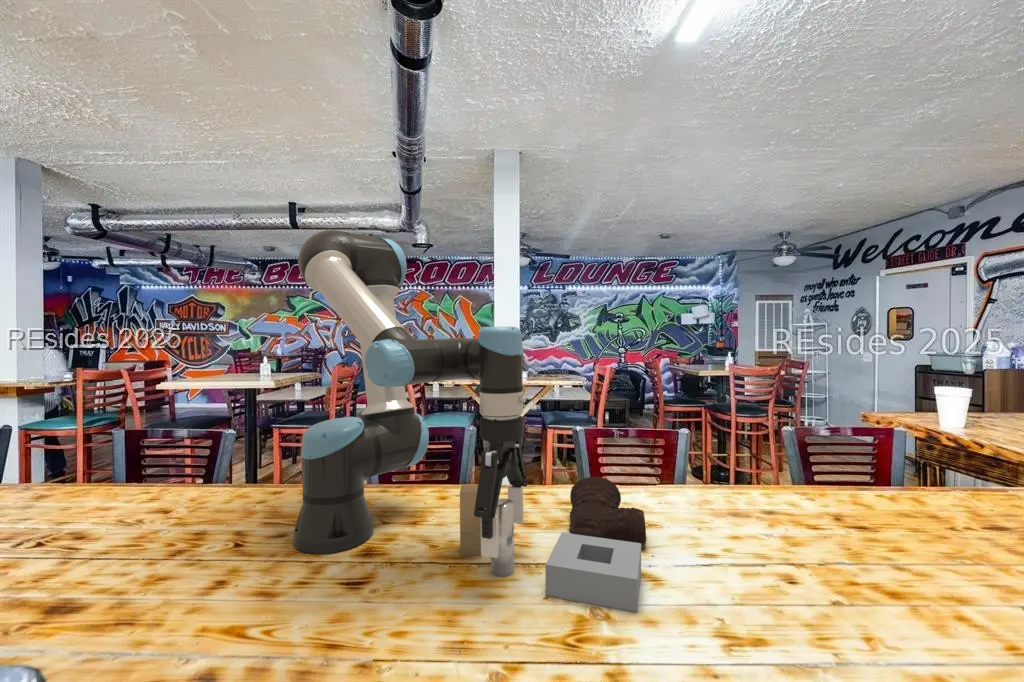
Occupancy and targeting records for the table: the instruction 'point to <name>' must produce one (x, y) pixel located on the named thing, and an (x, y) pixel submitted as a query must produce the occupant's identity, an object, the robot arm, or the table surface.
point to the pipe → (604, 512)
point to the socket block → (595, 571)
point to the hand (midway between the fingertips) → (503, 537)
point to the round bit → (504, 539)
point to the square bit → (469, 522)
